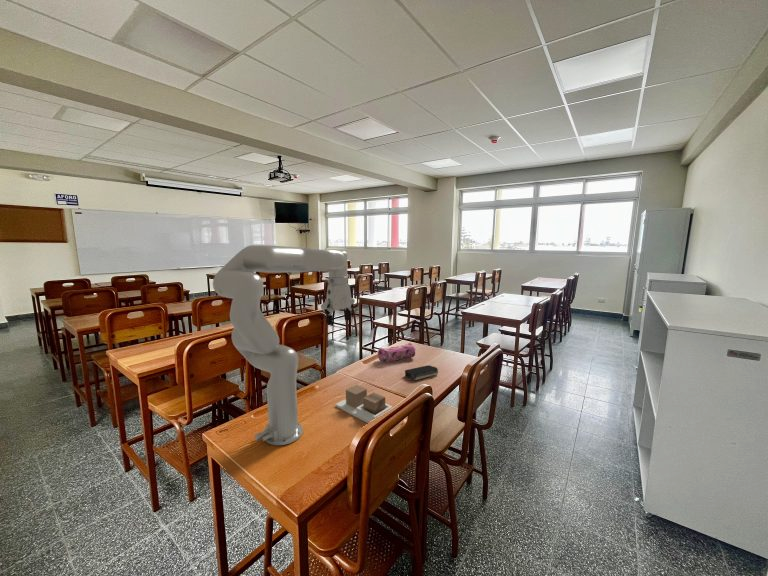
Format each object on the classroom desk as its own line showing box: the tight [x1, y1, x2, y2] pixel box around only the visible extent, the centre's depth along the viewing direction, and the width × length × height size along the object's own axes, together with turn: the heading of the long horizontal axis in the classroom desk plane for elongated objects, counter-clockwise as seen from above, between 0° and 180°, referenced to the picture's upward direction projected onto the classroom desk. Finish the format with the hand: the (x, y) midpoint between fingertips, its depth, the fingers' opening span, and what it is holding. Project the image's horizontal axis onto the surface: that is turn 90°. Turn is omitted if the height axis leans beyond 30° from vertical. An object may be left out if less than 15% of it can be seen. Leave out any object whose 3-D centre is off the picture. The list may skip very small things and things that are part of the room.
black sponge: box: [404, 364, 439, 381], centre depth 155 cm, size 16×8×4 cm, turn 119°
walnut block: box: [363, 392, 386, 415], centre depth 118 cm, size 6×6×6 cm
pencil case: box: [377, 342, 416, 364], centre depth 175 cm, size 21×9×9 cm, turn 119°
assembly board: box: [335, 384, 394, 424], centre depth 122 cm, size 12×22×7 cm, turn 49°
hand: (338, 322), depth 127 cm, fingers open, 9 cm apart
